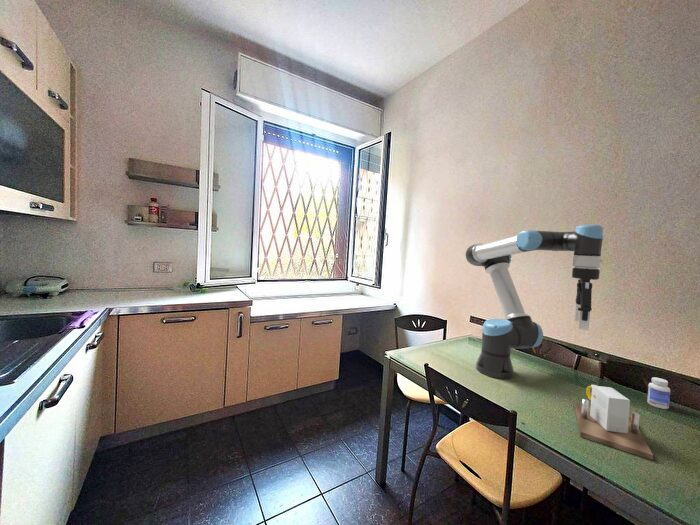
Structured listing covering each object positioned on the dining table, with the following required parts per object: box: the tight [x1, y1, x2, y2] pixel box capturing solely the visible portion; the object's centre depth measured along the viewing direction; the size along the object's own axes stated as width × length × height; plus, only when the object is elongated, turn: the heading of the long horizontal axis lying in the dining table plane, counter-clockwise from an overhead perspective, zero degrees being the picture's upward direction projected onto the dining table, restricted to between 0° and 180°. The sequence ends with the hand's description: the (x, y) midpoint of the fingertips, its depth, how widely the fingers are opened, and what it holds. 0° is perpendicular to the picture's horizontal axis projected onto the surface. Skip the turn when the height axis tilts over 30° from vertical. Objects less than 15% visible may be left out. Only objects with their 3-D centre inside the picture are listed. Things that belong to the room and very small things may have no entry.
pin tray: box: [573, 398, 654, 461], centre depth 86 cm, size 15×20×8 cm
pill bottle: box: [646, 376, 671, 410], centre depth 101 cm, size 5×5×10 cm
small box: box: [590, 384, 631, 433], centre depth 86 cm, size 8×6×10 cm
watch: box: [585, 384, 598, 401], centre depth 102 cm, size 6×3×6 cm, turn 2°
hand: (581, 325), depth 101 cm, fingers open, 13 cm apart
